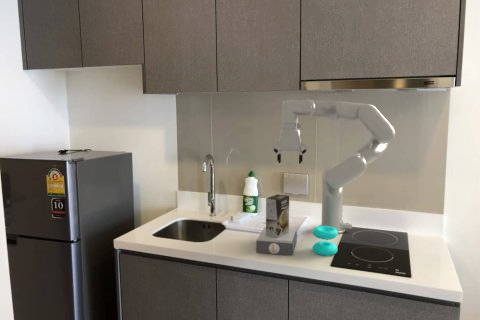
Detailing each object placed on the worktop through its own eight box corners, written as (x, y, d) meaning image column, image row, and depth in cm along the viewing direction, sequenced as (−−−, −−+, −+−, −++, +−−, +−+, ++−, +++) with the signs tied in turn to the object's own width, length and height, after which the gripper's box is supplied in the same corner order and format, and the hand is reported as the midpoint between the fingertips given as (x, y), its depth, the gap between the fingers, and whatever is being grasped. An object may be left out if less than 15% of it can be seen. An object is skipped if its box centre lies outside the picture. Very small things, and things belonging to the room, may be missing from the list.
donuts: (321, 223, 169) (342, 228, 162) (320, 245, 170) (341, 251, 164) (308, 229, 162) (330, 234, 155) (308, 252, 163) (329, 258, 156)
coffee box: (278, 238, 162) (278, 200, 160) (265, 235, 166) (265, 197, 164) (289, 232, 170) (290, 195, 167) (276, 229, 173) (277, 193, 171)
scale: (296, 242, 174) (296, 229, 173) (292, 256, 159) (292, 242, 158) (263, 239, 178) (263, 227, 177) (255, 253, 163) (255, 239, 162)
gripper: (309, 126, 186) (308, 162, 189) (273, 126, 190) (273, 161, 193) (308, 127, 179) (307, 164, 182) (270, 127, 183) (270, 163, 186)
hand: (289, 162), depth 187 cm, fingers open, 9 cm apart
